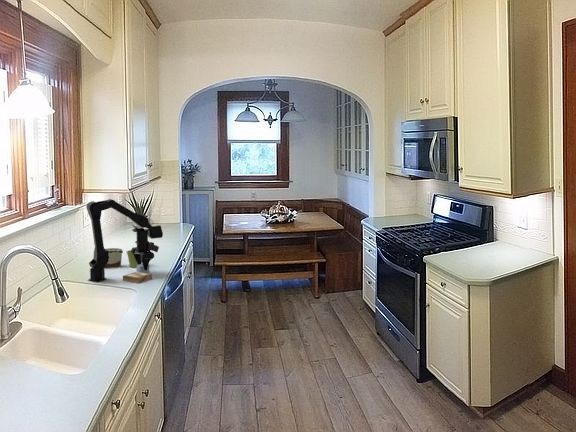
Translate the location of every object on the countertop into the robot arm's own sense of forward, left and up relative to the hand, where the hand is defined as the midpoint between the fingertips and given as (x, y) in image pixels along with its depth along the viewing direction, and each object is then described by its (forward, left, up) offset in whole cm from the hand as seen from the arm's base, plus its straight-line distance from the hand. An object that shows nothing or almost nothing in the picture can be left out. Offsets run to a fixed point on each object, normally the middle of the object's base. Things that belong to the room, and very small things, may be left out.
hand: (142, 268), depth 269 cm
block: (0, 0, -3) cm, 3 cm away
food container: (+5, +27, -3) cm, 28 cm away
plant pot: (+12, +16, -3) cm, 20 cm away
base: (-10, -5, -3) cm, 12 cm away
